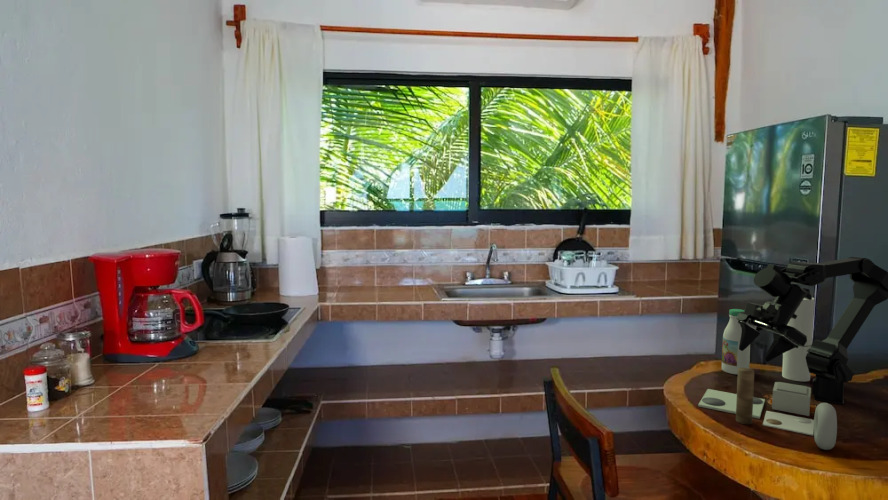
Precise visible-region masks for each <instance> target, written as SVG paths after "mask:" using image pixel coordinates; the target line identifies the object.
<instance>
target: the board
mask: <svg viewBox="0 0 888 500" xmlns="http://www.w3.org/2000/svg"><path fill="white" fill-rule="evenodd" d="M736 402H737V393H732V392H727V391H726V392H725V391H721V390H715V389H711V388H707V389H706V391H705V393H704V394H703V396H702V398H701V400H699V403H698V405H697V406H698V407H699V408H704V409H710V410H714V411H720V412H723V413H724V412H725V413H728V414H729V413H730V414H735V415H736ZM765 402H766V399H765V398H760V397H756V396H753V413H752V419H759V420H760V419H761V415H762V412H763V409H764V405H765Z"/></svg>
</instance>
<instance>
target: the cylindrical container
mask: <svg viewBox="0 0 888 500" xmlns="http://www.w3.org/2000/svg"><path fill="white" fill-rule="evenodd" d="M814 311H815V297H812V299H811V300H809V299H805V298H804V299H803V301H802V302H801V304H800V305H799V307H798V308H797V310H796V312H795V313H794V314H795V315H797V317H796V319H793V318H791V319H790V321H789V323H788V324H787V325H788V326H791V327H794V328H796V329H797V330H799V331H800V332H801V333H803V334H804V335H806V336H807V342H806V343H805V345H804V347H802V346H799V345H797V346H798V348H793V349H791V350H789V351H787V352H785V353H783V354H782V371H781V376H782V377H783V378H784V379H786V380H790V381H796V382H810V381H811V373H809V370H808V366H807V362H806V355H807V353H808V352H807V350H808V349H809V348H810V347H811V345H812V343H813V331H814V329H813V328H814V314H815V313H814Z"/></svg>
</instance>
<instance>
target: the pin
mask: <svg viewBox="0 0 888 500" xmlns="http://www.w3.org/2000/svg"><path fill="white" fill-rule="evenodd" d="M754 389H755V370H754V369H752V368H749V369H748V368H738V375H737V379H736V394H737V402H736V414H735V421H736V422H737V423H740V424H742V425H752V424H753V417H752V413H753V397H754Z"/></svg>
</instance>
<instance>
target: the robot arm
mask: <svg viewBox="0 0 888 500" xmlns="http://www.w3.org/2000/svg"><path fill="white" fill-rule="evenodd" d="M847 275H848V276H849V279H850V280H851V281H852V283H853V285H852V292H853V297H852V299H851V300H850V302H849V304H848V305H847V307H846V308H845V309H844V311H843V313H842V314H841V316H840V318H839V319H838V320H837V321H836V324H834V326H833V328H832V330H831V331H830V333H829V334H828V335H827V338H824V339H823V340H819V339H815V340H812V345H811V347H810V348H809V349H808V350H807V352H808V353H807V355H806V362H807V366H808V370H809V373H810V374H814V375H815V378H812V388H811V395H812V396H813V399H814V400H817V401H821V402H826V403H828V402H829V403H833V404H840V405H844V404H845V401H844V388H845V383H847V384H848V383H849V382H851V381H852V380H853V377H854V372H853V371H852V370H851V369H850V367H848V365H847V364H848V360H849V355H848V348H849V346H850V345H851V343H852V341H853V340H854V338H855V337H856V335H857V334H858V333H859V331H860V329H861V327H862V326H863V325H864V323H865V322H866V320H867V318H868V317H869V315H870V313H872V311H873V309H874V307H875V306H877V305H878V304H879V305H880V304H881V303H883V302H885V301H887V300H888V271H887V270H885V269H884V268H881V267H880V266H878V265H877V264H875V263H874V262H873V261H872V260H871V259H870V258H867V257H860V256H859V257H858V256H850V257H847V258H839V259H834V260H828V261H825V262H824V261H822V262H815V263H814V262H803V261H802V262H801V261H792V262H790V263H788V264H787V266H786V267H784V268H782V269H780V268H779V267H778V266H777V265H775V264H771V263H768V265H767V266H766V267H765V268H762V269H761V270H759V271H758V272H756V273H755V274H754V277H753V283H754V285H755V286H757V287H758V288H759V289H761V290H762V291H763V292H765V293H767V295H769V296H770V297H773V299H772V301H769V300H767V301H765V303H764V304H760V303H759V304H758V303H754V302H750V301H746V303H745V307H744V309H743V310H744V312H740V313H739V314H738V316H737V317H736V319H737V320H739V321H738V323H739V324H740V326H741V329H742V333H741V339H740V344H739V350H741V351H743V350H744V349H746V348H747V347H748V346H749V345H750V346H751V344H752V343H753V342H754V341H755V340H756V339H758V337H759V336H760V335H761V332H760V331H762V330H765V331H767V332H771V333H772V336H773V337H772V338H773V342H772V343H771V344H770V347H769V348H768V350H767V352H766V353H765V355H764V358H763V360H764V361H765V362H771V361H772V360H774V359H776V358H777V357H779V356H781V355H783V353H785V352H787V351H789V350H791V349H793V348H798V346H797V345H799V346H802V347H804V345H805V343H806V342H807V336H806V335H804V334H803V333H801V332H800V331H799V330H797V329H796V328H794V327H791V326H788V325H787V324H788V323H789V321H790V319H791V318H793V319H796V317H797V315H795V314H794V313H795V312H796V310H797V308H798V307H799V305H800V304H801V302H802V301H803V299H804V298H805V299H809V300H811V299H812V298H813V296H812V294H811V292H810V291H811V290H810V289H809V288H805V287H801V286H808V287H814V286H817V285H820V284H823V283H824V282H825V281H826V280H827V279H831V278H837V277H841V276H842V277H843V276H847ZM800 285H801V286H800Z"/></svg>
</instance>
